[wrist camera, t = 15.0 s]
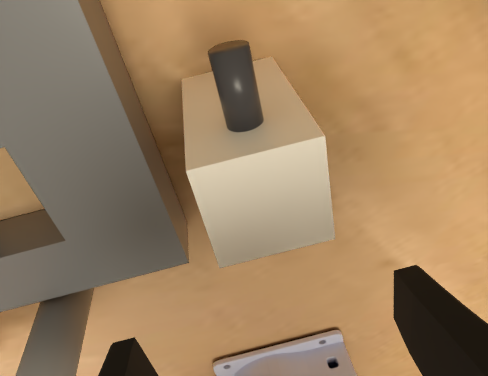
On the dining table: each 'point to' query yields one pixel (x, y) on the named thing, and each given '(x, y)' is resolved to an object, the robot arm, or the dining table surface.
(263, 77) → the plug
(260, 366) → the robot arm
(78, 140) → the power block
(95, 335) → the dining table surface
